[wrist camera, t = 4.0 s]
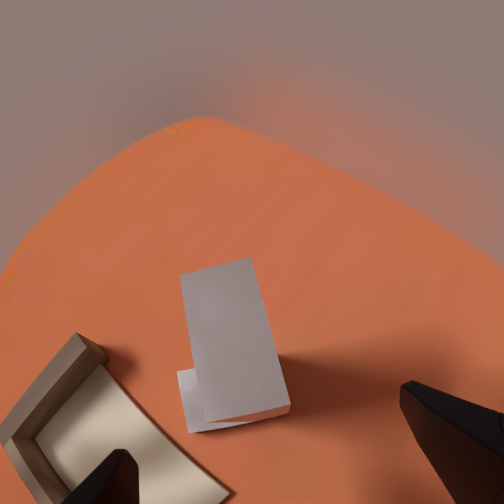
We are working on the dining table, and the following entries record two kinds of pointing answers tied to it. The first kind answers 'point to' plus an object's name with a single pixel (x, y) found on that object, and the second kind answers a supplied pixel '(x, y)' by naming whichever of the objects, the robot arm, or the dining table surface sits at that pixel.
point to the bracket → (229, 351)
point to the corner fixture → (94, 434)
